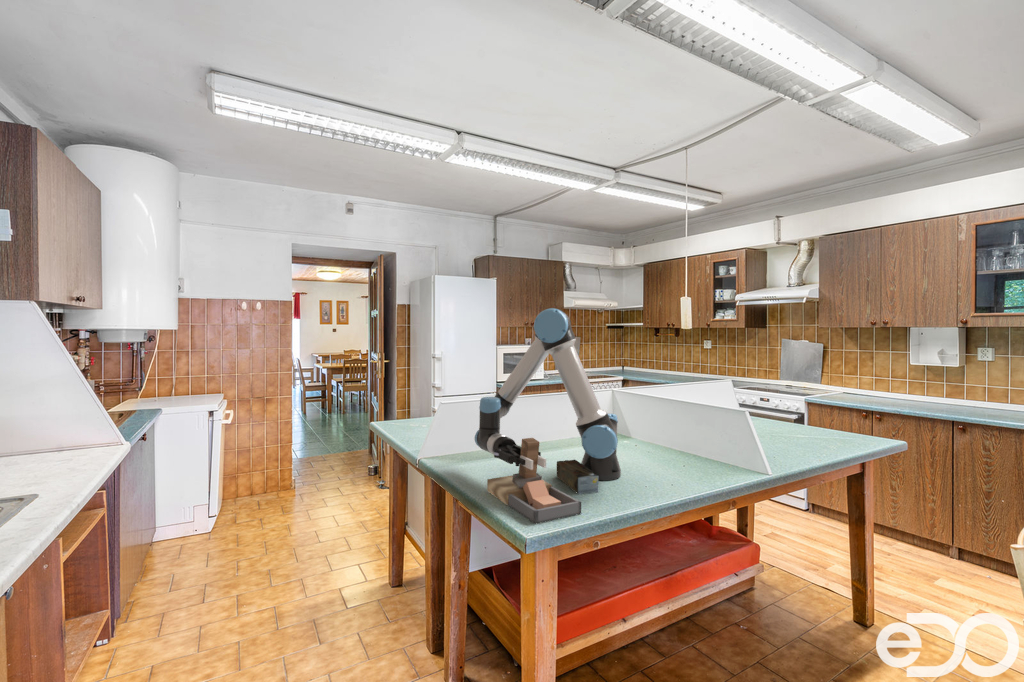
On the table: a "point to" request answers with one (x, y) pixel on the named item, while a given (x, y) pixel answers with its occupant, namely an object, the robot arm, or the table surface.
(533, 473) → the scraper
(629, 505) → the table surface
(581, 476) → the beverage carton
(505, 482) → the board
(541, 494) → the tile rear
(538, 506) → the tile front
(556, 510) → the tray
